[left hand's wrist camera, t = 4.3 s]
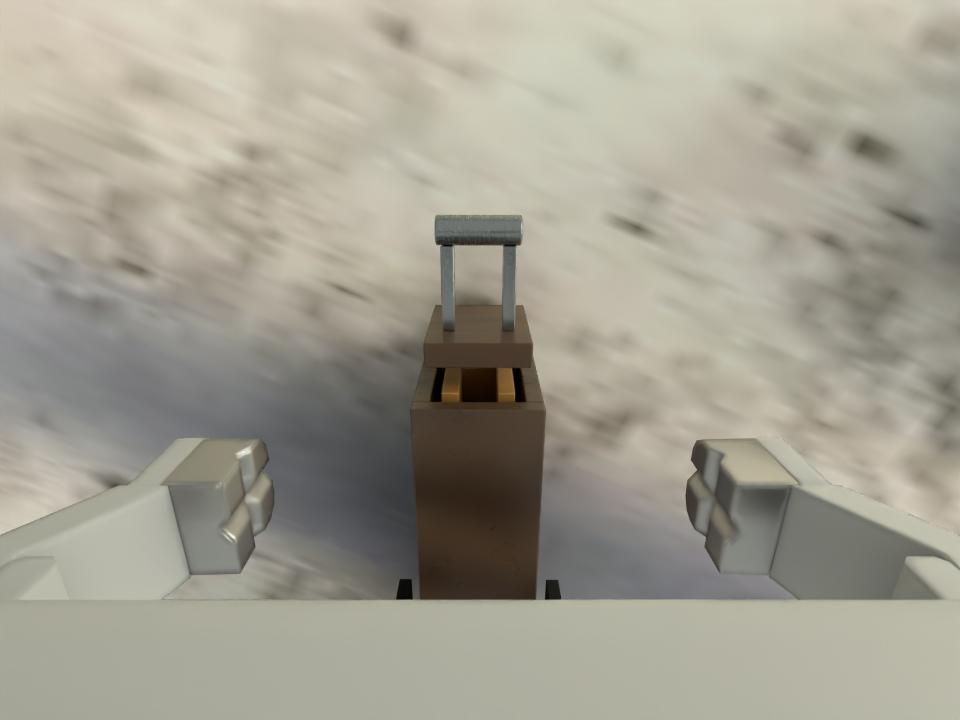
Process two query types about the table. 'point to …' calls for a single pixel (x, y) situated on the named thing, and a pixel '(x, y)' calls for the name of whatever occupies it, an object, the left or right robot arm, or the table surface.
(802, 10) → the table surface
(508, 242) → the drawer
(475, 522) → the cabinet
